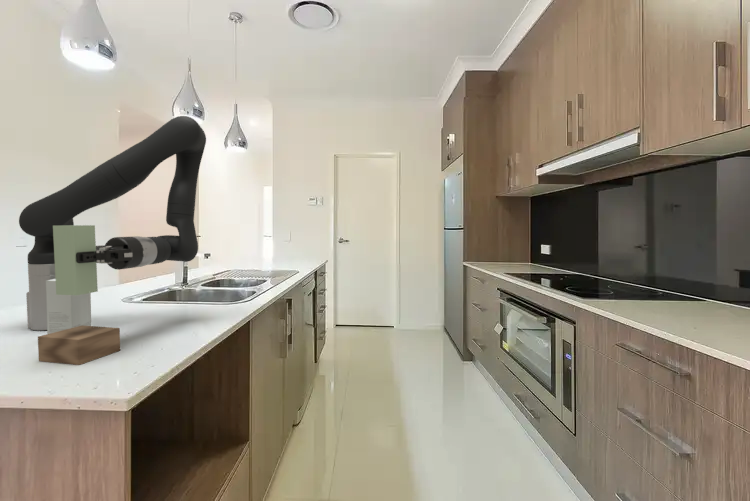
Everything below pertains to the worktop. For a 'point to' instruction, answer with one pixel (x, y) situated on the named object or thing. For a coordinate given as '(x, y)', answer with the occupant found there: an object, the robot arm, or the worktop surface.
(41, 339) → the walnut riser block
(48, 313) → the skincare box
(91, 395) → the worktop surface
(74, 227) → the sage block
